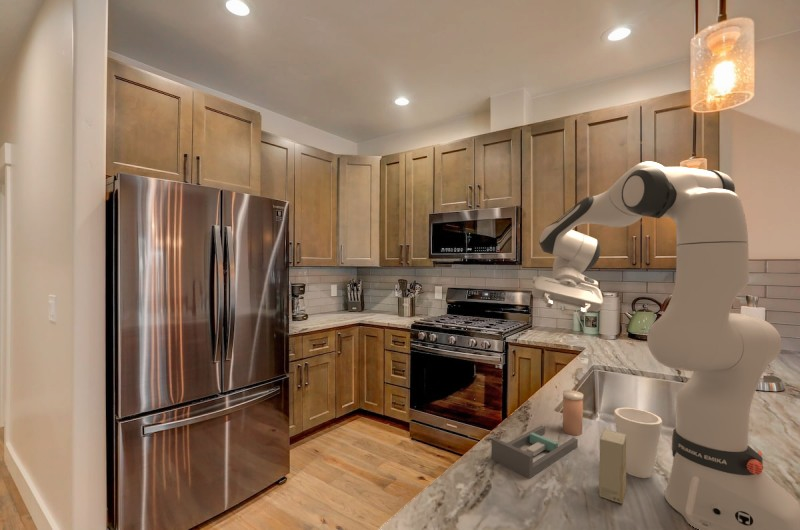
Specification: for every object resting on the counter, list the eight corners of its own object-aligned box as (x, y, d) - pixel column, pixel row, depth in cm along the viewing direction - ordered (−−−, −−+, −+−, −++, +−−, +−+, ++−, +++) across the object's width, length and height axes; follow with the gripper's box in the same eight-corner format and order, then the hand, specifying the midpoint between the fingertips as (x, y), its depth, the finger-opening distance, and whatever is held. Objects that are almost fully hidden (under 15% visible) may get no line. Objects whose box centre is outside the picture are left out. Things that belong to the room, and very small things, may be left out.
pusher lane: (540, 432, 106) (541, 414, 106) (577, 446, 98) (577, 428, 98) (491, 459, 91) (491, 438, 91) (529, 478, 83) (529, 456, 83)
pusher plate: (532, 441, 100) (532, 432, 100) (557, 452, 94) (557, 442, 94) (517, 449, 96) (517, 440, 95) (543, 461, 90) (543, 451, 90)
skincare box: (622, 505, 74) (623, 445, 74) (597, 496, 77) (599, 438, 77) (626, 490, 80) (627, 434, 79) (602, 482, 82) (604, 428, 82)
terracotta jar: (585, 431, 107) (586, 394, 106) (577, 437, 103) (578, 398, 103) (567, 425, 111) (568, 388, 111) (558, 430, 107) (559, 392, 107)
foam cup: (637, 484, 82) (639, 426, 81) (604, 462, 90) (605, 409, 90) (670, 478, 84) (672, 421, 84) (635, 457, 93) (636, 406, 93)
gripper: (535, 267, 121) (532, 293, 110) (603, 282, 115) (606, 311, 105) (531, 282, 124) (527, 308, 114) (596, 298, 119) (598, 327, 109)
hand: (565, 310), depth 109 cm, fingers open, 8 cm apart
